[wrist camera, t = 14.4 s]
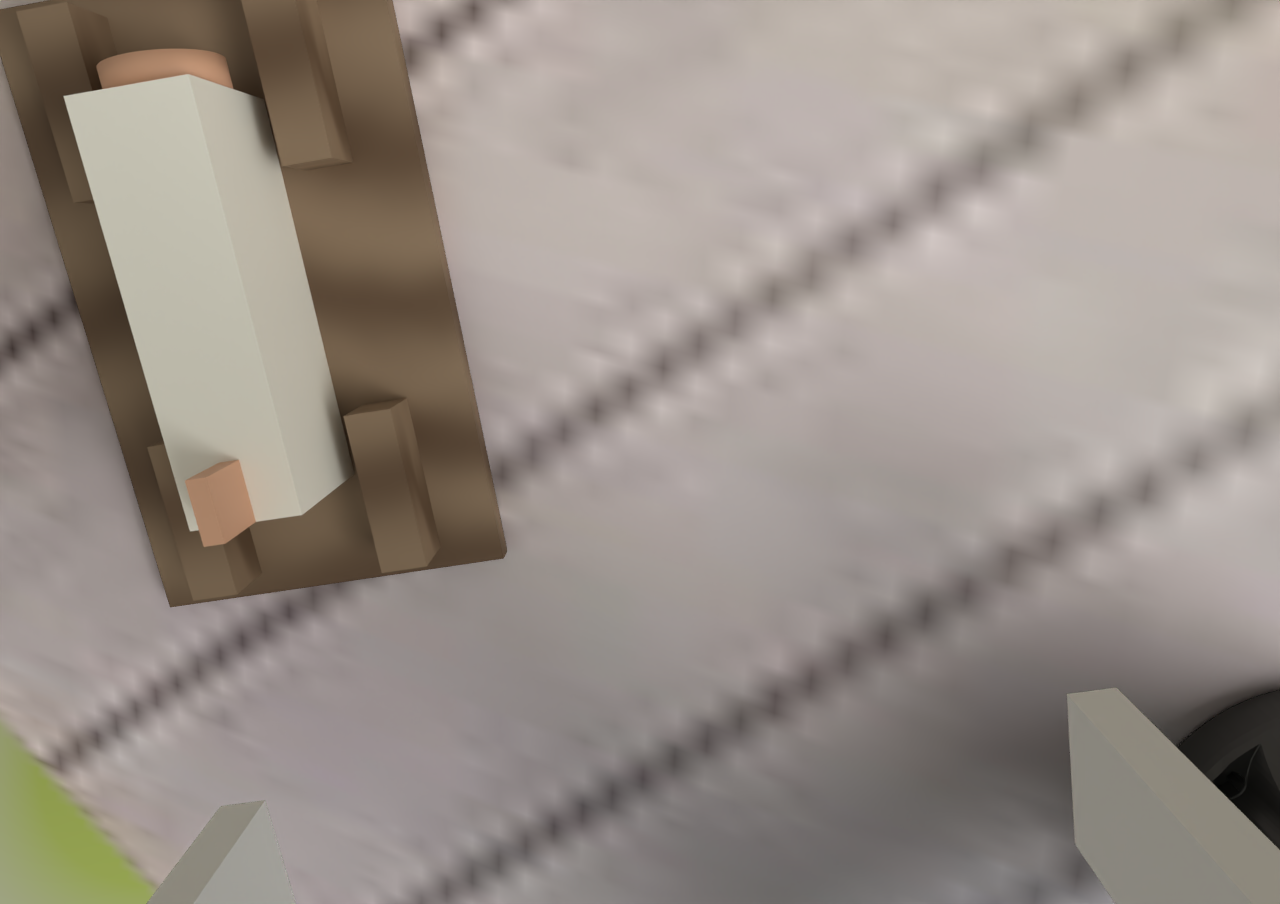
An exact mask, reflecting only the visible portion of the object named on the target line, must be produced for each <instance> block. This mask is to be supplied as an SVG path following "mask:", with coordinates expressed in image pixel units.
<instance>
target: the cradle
mask: <svg viewBox="0 0 1280 904" xmlns="http://www.w3.org/2000/svg"><path fill="white" fill-rule="evenodd" d="M153 49H197V50H205V51H211V52H215V53H218V54H221V55H223V56H224V57H225V58H226V61H227V65H228V69H229V73H230V77H231V81H232V85H233V89H234V90H237V91H240V92H243V93H246V94H249V95H252V96H255V97H258V98H261V99H264V102H265V106H266V110H267V114H268V118H269V122H270V127H271V131H272V135H273V139H274V143H275V147H276V151H277V156H278V160H279V164H280V168H281V172H282V176H283V180H284V185H285V189H286V193H287V197H288V201H289V205H290V209H291V214H292V218H293V222H294V226H295V230H296V234H297V239H298V243H299V247H300V251H301V255H302V259H303V263H304V268H305V272H306V276H307V280H308V284H309V288H310V292H311V297H312V301H313V305H314V309H315V313H316V317H317V322H318V326H319V330H320V334H321V338H322V342H323V346H324V351H325V355H326V359H327V363H328V367H329V371H330V375H331V380H332V384H333V388H334V392H335V396H336V400H337V404H338V409H339V413H340V417H341V421H342V425H343V429H344V434H345V438H346V442H347V446H348V450H349V454H350V458H351V463H352V467H353V471H354V475H352V476H351V477H350V478H349V479H347V480H346V481H345V482H343V483H342V484H341V485H340V486H338V487H337V488H336V489H335V490H333V491H332V492H331V493H330V494H328V495H327V496H326V497H324V498H323V499H322V500H321V501H319V502H318V503H317V504H316V505H314V506H313V507H312V508H311V509H309V510H308V511H307V512H305V513H304V514H303V515H299V516H292V517H286V518H279V519H272V520H265V521H258V522H255V523H254V524H252V525H251V526H249V527H248V528H247V529H245V530H244V531H242V532H241V533H240V534H238V535H237V536H235V537H234V538H233V539H231V540H230V541H228V542H227V543H226V544H221V545H214V546H207V547H204V546H203V543H202V539H201V536H200V532H199V530H197V531H190V530H189V526H188V523H187V520H186V516H185V513H184V509H183V506H182V502H181V499H180V495H179V492H178V489H177V485H176V482H175V478H174V475H173V471H172V468H171V465H170V461H169V458H168V454H167V451H166V447H165V444H164V440H163V437H162V434H161V430H160V427H159V423H158V420H157V416H156V413H155V409H154V406H153V403H152V399H151V396H150V392H149V389H148V385H147V382H146V379H145V375H144V372H143V368H142V365H141V361H140V358H139V354H138V351H137V348H136V344H135V341H134V337H133V334H132V330H131V327H130V324H129V320H128V317H127V313H126V310H125V306H124V303H123V299H122V296H121V293H120V289H119V286H118V282H117V279H116V275H115V272H114V268H113V265H112V262H111V258H110V255H109V251H108V248H107V244H106V241H105V238H104V234H103V231H102V227H101V224H100V220H99V217H98V213H97V210H96V207H95V203H94V200H93V196H92V193H91V189H90V186H89V182H88V179H87V176H86V172H85V169H84V165H83V162H82V158H81V155H80V152H79V148H78V145H77V141H76V138H75V134H74V131H73V127H72V124H71V121H70V117H69V114H68V110H67V107H66V103H65V100H64V97H63V96H67V95H73V94H78V93H84V92H90V91H95V90H101V89H102V86H101V82H100V79H99V75H98V72H97V68H96V66H97V64H98V63H99V62H100V61H102V60H104V59H107V58H109V57H112V56H116V55H120V54H124V53H129V52H135V51H143V50H153ZM0 56H1V59H2V63H3V66H4V69H5V72H6V76H7V79H8V82H9V85H10V89H11V92H12V95H13V98H14V102H15V105H16V108H17V111H18V115H19V118H20V121H21V124H22V128H23V131H24V134H25V137H26V141H27V144H28V147H29V150H30V153H31V157H32V160H33V163H34V166H35V170H36V173H37V176H38V179H39V183H40V186H41V189H42V192H43V196H44V199H45V202H46V205H47V209H48V212H49V215H50V218H51V222H52V225H53V228H54V231H55V235H56V238H57V241H58V244H59V248H60V251H61V254H62V257H63V261H64V264H65V267H66V270H67V274H68V277H69V280H70V283H71V287H72V290H73V293H74V296H75V300H76V303H77V306H78V309H79V313H80V316H81V319H82V322H83V326H84V329H85V332H86V335H87V339H88V342H89V345H90V348H91V352H92V355H93V358H94V361H95V365H96V368H97V371H98V374H99V378H100V381H101V384H102V387H103V391H104V394H105V397H106V400H107V404H108V407H109V410H110V413H111V416H112V420H113V423H114V426H115V429H116V433H117V436H118V439H119V442H120V446H121V449H122V452H123V455H124V459H125V462H126V465H127V468H128V472H129V475H130V478H131V481H132V485H133V488H134V491H135V494H136V498H137V501H138V504H139V507H140V511H141V514H142V517H143V520H144V524H145V527H146V530H147V533H148V537H149V540H150V543H151V546H152V550H153V553H154V556H155V559H156V563H157V566H158V569H159V572H160V576H161V579H162V582H163V585H164V589H165V592H166V595H167V598H168V602H169V605H170V607H176V606H182V605H189V604H196V603H203V602H210V601H217V600H223V599H230V598H237V597H244V596H251V595H257V594H264V593H271V592H278V591H285V590H292V589H298V588H305V587H312V586H319V585H326V584H332V583H339V582H346V581H353V580H360V579H366V578H373V577H380V576H387V575H394V574H401V573H407V572H414V571H421V570H428V569H435V568H441V567H448V566H455V565H462V564H469V563H476V562H482V561H489V560H496V559H503V558H504V557H505V554H506V552H507V547H506V542H505V538H504V533H503V528H502V523H501V518H500V514H499V509H498V504H497V499H496V494H495V490H494V485H493V480H492V475H491V470H490V466H489V461H488V456H487V451H486V447H485V442H484V437H483V432H482V427H481V423H480V418H479V413H478V408H477V403H476V399H475V394H474V389H473V384H472V379H471V375H470V370H469V365H468V360H467V355H466V351H465V346H464V341H463V336H462V331H461V327H460V322H459V317H458V312H457V308H456V303H455V298H454V293H453V288H452V284H451V279H450V274H449V269H448V264H447V260H446V255H445V250H444V245H443V240H442V236H441V231H440V226H439V221H438V216H437V212H436V207H435V202H434V197H433V192H432V188H431V183H430V178H429V173H428V169H427V164H426V159H425V154H424V149H423V145H422V140H421V135H420V130H419V125H418V121H417V116H416V111H415V106H414V101H413V97H412V92H411V87H410V82H409V77H408V73H407V68H406V63H405V58H404V53H403V49H402V44H401V39H400V34H399V30H398V25H397V20H396V15H395V10H394V6H393V1H392V0H48V1H43V2H38V3H32V4H27V5H22V6H17V7H11V8H6V9H1V10H0Z"/></svg>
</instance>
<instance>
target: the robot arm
mask: <svg viewBox="0 0 1280 904" xmlns="http://www.w3.org/2000/svg"><path fill="white" fill-rule="evenodd" d="M1067 707H1068V726H1069V744H1070V763H1071V781H1072V800H1073V818H1074V837H1075V845H1076V846H1077V848H1078V849H1079V851H1080V852H1081V854H1082V855H1083V857H1084V858H1085V860H1086V861H1087V863H1088V864H1089V865H1090V867H1091V868H1092V870H1093V871H1094V873H1095V874H1096V876H1097V877H1098V879H1099V880H1100V882H1101V883H1102V885H1103V886H1104V887H1105V889H1106V890H1107V892H1108V893H1109V895H1110V896H1111V898H1112V899H1113V901H1114V902H1115V904H1280V690H1279V691H1275V692H1271V693H1267V694H1264V695H1261V696H1258V697H1255V698H1252V699H1250V700H1247V701H1245V702H1242V703H1240V704H1238V705H1236V706H1234V707H1232V708H1230V709H1228V710H1226V711H1224V712H1223V713H1221V714H1219V715H1218V716H1216V717H1214V718H1213V719H1211V720H1210V721H1208V722H1207V723H1206V724H1204V725H1203V726H1202V727H1200V728H1199V729H1198V730H1196V731H1195V732H1194V733H1193V734H1192V735H1191V736H1190V737H1188V738H1187V739H1186V740H1185V741H1184V742H1183V743H1182V744H1181V745H1180V746H1179V747H1178V748H1177V747H1176V746H1175V745H1174V744H1173V743H1172V742H1171V741H1170V740H1169V739H1168V738H1167V737H1166V736H1165V735H1164V734H1163V733H1162V732H1161V731H1160V730H1159V729H1158V728H1157V727H1156V726H1155V725H1154V724H1153V723H1152V722H1150V721H1149V720H1148V719H1147V718H1146V717H1145V716H1144V715H1143V714H1142V713H1141V712H1140V711H1139V710H1138V709H1137V708H1136V707H1135V706H1134V705H1133V704H1132V703H1131V702H1130V701H1129V700H1128V699H1127V698H1126V697H1125V696H1124V695H1123V694H1122V693H1121V692H1120V691H1119V690H1118V689H1117V688H1109V689H1101V690H1094V691H1086V692H1078V693H1071V694H1067ZM147 904H296V902H295V899H294V896H293V892H292V889H291V886H290V882H289V879H288V876H287V872H286V869H285V865H284V862H283V859H282V855H281V852H280V849H279V845H278V842H277V839H276V835H275V832H274V828H273V825H272V822H271V818H270V815H269V812H268V808H267V805H266V802H265V800H264V801H257V802H249V803H242V804H234V805H226V806H221V807H220V808H219V809H218V811H217V812H216V813H215V815H214V816H213V817H212V819H211V820H210V821H209V822H208V824H207V825H206V826H205V828H204V829H203V830H202V832H201V833H200V834H199V836H198V837H197V838H196V839H195V841H194V842H193V843H192V845H191V846H190V847H189V849H188V850H187V851H186V853H185V854H184V855H183V856H182V858H181V859H180V860H179V862H178V863H177V864H176V866H175V867H174V868H173V870H172V871H171V872H170V873H169V875H168V876H167V877H166V879H165V880H164V881H163V883H162V884H161V885H160V887H159V888H158V889H157V890H156V892H155V893H154V894H153V896H152V897H151V898H150V900H149V901H148V902H147Z"/></svg>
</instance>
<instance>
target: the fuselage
mask: <svg viewBox="0 0 1280 904" xmlns="http://www.w3.org/2000/svg"><path fill="white" fill-rule="evenodd" d="M96 68H97V72H98V75H99V79H100V82H101V86H102V89H101V90H95V91H90V92H84V93H78V94H73V95H67V96H63V97H64V100H65V103H66V107H67V110H68V114H69V117H70V121H71V124H72V127H73V131H74V134H75V138H76V141H77V145H78V148H79V152H80V155H81V158H82V162H83V165H84V169H85V172H86V176H87V179H88V182H89V186H90V189H91V193H92V196H93V200H94V203H95V207H96V210H97V213H98V217H99V220H100V224H101V227H102V231H103V234H104V238H105V241H106V244H107V248H108V251H109V255H110V258H111V262H112V265H113V268H114V272H115V275H116V279H117V282H118V286H119V289H120V293H121V296H122V299H123V303H124V306H125V310H126V313H127V317H128V320H129V324H130V327H131V330H132V334H133V337H134V341H135V344H136V348H137V351H138V354H139V358H140V361H141V365H142V368H143V372H144V375H145V379H146V382H147V385H148V389H149V392H150V396H151V399H152V403H153V406H154V409H155V413H156V416H157V420H158V423H159V427H160V430H161V434H162V437H163V440H164V444H165V447H166V451H167V454H168V458H169V461H170V465H171V468H172V471H173V475H174V478H175V482H176V485H177V489H178V492H179V495H180V499H181V502H182V506H183V509H184V513H185V516H186V520H187V523H188V526H189V530H190V531H197V530H199V532H200V536H201V539H202V543H203V546H204V547H207V546H214V545H221V544H226V543H227V542H228V541H230V540H231V539H233V538H234V537H235V536H237V535H238V534H240V533H241V532H242V531H244V530H245V529H247V528H248V527H249V526H251V525H252V524H254V523H255V522H258V521H265V520H272V519H279V518H286V517H292V516H299V515H303V514H304V513H305V512H307V511H308V510H309V509H311V508H312V507H313V506H314V505H316V504H317V503H318V502H319V501H321V500H322V499H323V498H324V497H326V496H327V495H328V494H330V493H331V492H332V491H333V490H335V489H336V488H337V487H338V486H340V485H341V484H342V483H343V482H345V481H346V480H347V479H349V478H350V477H351V476H352V475H354V471H353V467H352V463H351V458H350V454H349V450H348V446H347V442H346V438H345V434H344V429H343V425H342V421H341V417H340V413H339V409H338V404H337V400H336V396H335V392H334V388H333V384H332V380H331V375H330V371H329V367H328V363H327V359H326V355H325V351H324V346H323V342H322V338H321V334H320V330H319V326H318V322H317V317H316V313H315V309H314V305H313V301H312V297H311V292H310V288H309V284H308V280H307V276H306V272H305V268H304V263H303V259H302V255H301V251H300V247H299V243H298V239H297V234H296V230H295V226H294V222H293V218H292V214H291V209H290V205H289V201H288V197H287V193H286V189H285V185H284V180H283V176H282V172H281V168H280V164H279V160H278V156H277V151H276V147H275V143H274V139H273V135H272V131H271V127H270V122H269V118H268V114H267V110H266V106H265V102H264V99H261V98H258V97H255V96H252V95H249V94H246V93H243V92H240V91H237V90H234V89H233V85H232V81H231V77H230V73H229V69H228V65H227V61H226V58H225V57H224V56H223V55H221V54H218V53H215V52H211V51H205V50H197V49H153V50H143V51H135V52H129V53H124V54H120V55H116V56H112V57H109V58H107V59H104V60H102V61H100V62H99V63H98V64H97V66H96Z"/></svg>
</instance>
